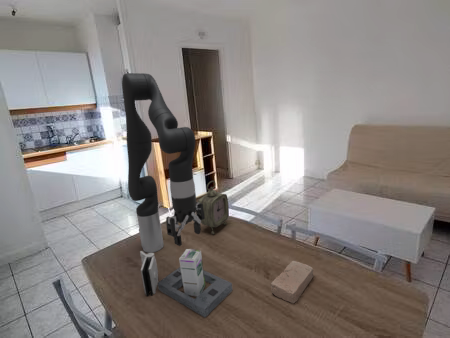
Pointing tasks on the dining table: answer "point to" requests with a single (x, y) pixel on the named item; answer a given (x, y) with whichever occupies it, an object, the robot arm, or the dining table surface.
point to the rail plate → (204, 300)
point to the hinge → (149, 273)
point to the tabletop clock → (214, 208)
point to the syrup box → (192, 272)
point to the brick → (292, 281)
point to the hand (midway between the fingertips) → (188, 239)
